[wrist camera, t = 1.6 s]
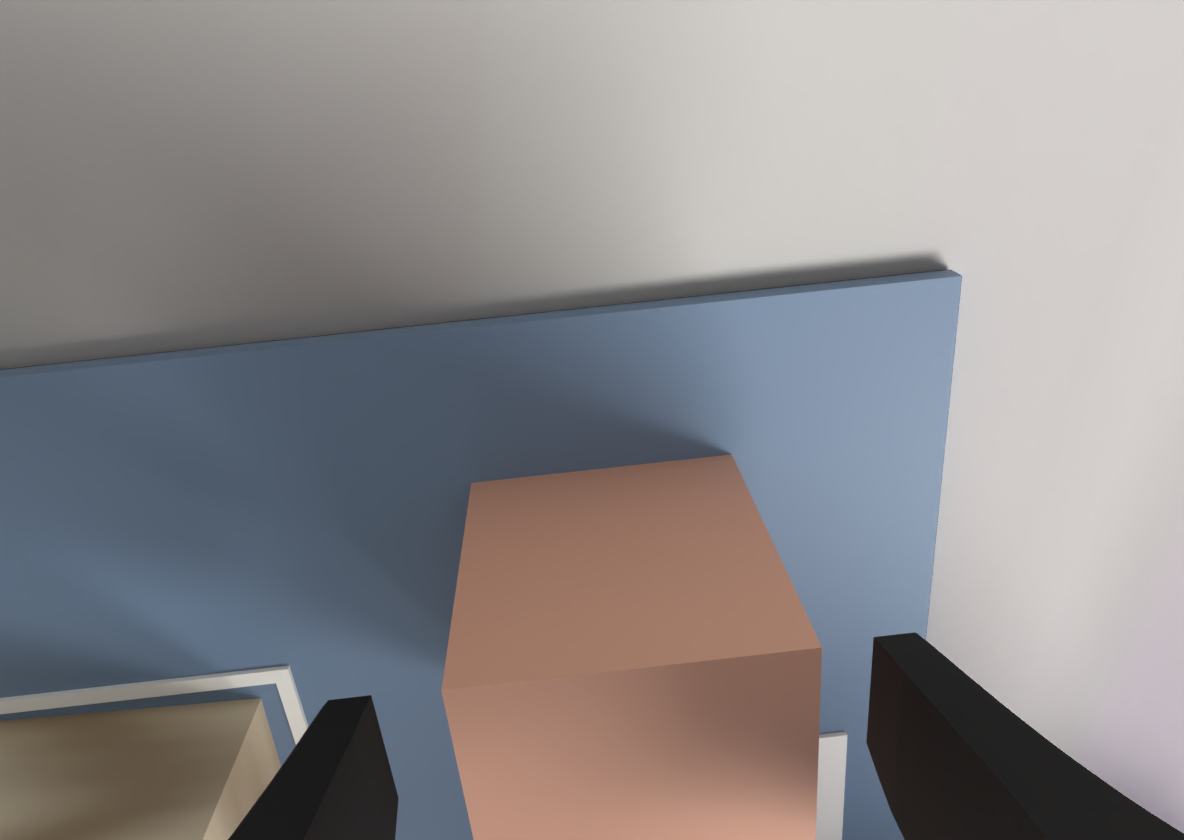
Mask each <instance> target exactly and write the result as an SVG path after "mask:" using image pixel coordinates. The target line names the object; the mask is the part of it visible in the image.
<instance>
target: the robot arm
mask: <svg viewBox="0 0 1184 840" xmlns="http://www.w3.org/2000/svg"><path fill="white" fill-rule="evenodd" d="M866 743H867V746H868V749H869V752H870V755H871V757H872V760H873V763H874V766H875V769H876V772H877V775H878V778H879V780H880V783H881V786H882V789H883V791H884V794H885V797H886V799H887V802H888V805H889V807H890V810H891V813H892V815H893V817H894V819H895V821H896V823H897V825H898V827H899V829H900V831H901V833H902V835H903V837H904V839H905V840H1184V834H1183V833H1181V832H1180V831H1178V830H1177V829H1175V828H1173V827H1172V826H1170V825H1169V824H1167V823H1166V822H1164V821H1162V820H1161V819H1159V818H1158V817H1156V816H1154V815H1153V814H1151V813H1150V812H1148V811H1147V810H1145V809H1144V808H1142V807H1141V806H1139V805H1138V804H1136V803H1135V802H1133V801H1132V800H1130V799H1129V798H1127V797H1126V796H1124V795H1123V794H1121V793H1120V792H1118V791H1117V790H1115V789H1114V788H1113V787H1111V786H1110V785H1108V784H1107V783H1106V782H1104V781H1103V780H1101V779H1100V778H1099V777H1097V776H1096V775H1094V774H1093V773H1092V772H1090V771H1089V770H1087V769H1086V768H1085V767H1083V766H1082V765H1080V764H1079V763H1078V762H1076V761H1075V760H1073V759H1072V758H1071V757H1069V756H1068V755H1067V754H1065V753H1064V752H1063V751H1061V750H1060V749H1059V748H1057V747H1056V746H1055V745H1053V744H1052V743H1051V742H1049V741H1048V740H1047V739H1046V738H1044V737H1043V736H1042V735H1040V734H1039V733H1038V732H1037V731H1035V730H1034V729H1033V728H1032V727H1030V726H1029V725H1028V724H1026V723H1025V722H1024V721H1023V720H1021V719H1020V718H1019V717H1017V716H1016V715H1015V714H1014V713H1012V712H1011V711H1010V710H1009V709H1008V708H1006V707H1005V706H1004V705H1003V704H1001V703H1000V702H999V701H998V700H996V699H995V698H994V697H993V696H992V695H990V694H989V693H988V692H987V691H986V690H984V689H983V688H982V687H981V686H980V685H978V684H977V683H976V682H975V681H974V680H972V679H971V678H970V677H969V676H968V675H966V674H965V673H964V672H963V671H962V670H960V669H959V668H958V667H957V666H956V665H954V664H953V663H952V662H951V661H950V660H948V659H947V658H946V657H945V656H944V655H943V654H941V653H940V652H939V651H938V650H937V649H935V648H934V647H933V646H932V645H931V644H929V643H928V642H927V641H926V640H925V639H923V638H922V637H921V636H920V635H919V634H917V633H916V632H913V633H904V634H896V635H887V636H878V637H874V639H873V653H872V668H871V682H870V697H869V711H868V726H867V740H866ZM398 799H399V798H398V794H397V790H396V786H395V783H394V779H393V775H392V771H391V768H390V764H389V760H388V756H387V753H386V749H385V745H384V741H383V738H382V734H381V730H380V726H379V723H378V719H377V715H376V711H375V708H374V704H373V700H372V696H371V695H368V696H360V697H351V698H342V699H334V700H328V701H327V702H326V703H325V704H324V706H323V707H322V708H321V710H320V711H319V712H318V714H317V715H316V717H315V718H314V720H313V721H312V723H311V724H310V726H309V727H308V728H307V730H306V731H305V733H304V734H303V736H302V737H301V739H300V740H299V742H298V743H297V745H296V746H295V748H294V749H293V750H292V752H291V753H290V755H289V756H288V758H287V759H286V761H285V762H284V763H283V765H282V766H281V768H280V769H279V771H278V772H277V773H276V775H275V776H274V778H273V779H272V781H271V782H270V783H269V785H268V786H267V788H266V789H265V790H264V792H263V793H262V794H261V796H260V797H259V798H258V800H257V801H256V802H255V804H254V805H253V807H252V808H251V809H250V811H249V812H248V813H247V815H246V816H245V817H244V819H243V820H242V822H241V823H240V824H239V826H238V827H237V828H236V830H235V831H234V832H233V834H232V835H231V836H230V838H229V839H228V840H395V835H396V823H397V811H398Z"/></svg>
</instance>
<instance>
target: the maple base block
mask: <svg viewBox="0 0 1184 840" xmlns="http://www.w3.org/2000/svg"><path fill="white" fill-rule="evenodd" d="M280 768H281V764H280V761H279V758H278V754H277V751H276V747H275V744H274V740H273V737H272V733H271V730H270V727H269V723H268V720H267V716H266V713H265V709H264V706H263V703H262V699H261V698H258V699H246V700H235V701H223V702H211V703H200V704H188V705H176V706H165V707H153V708H142V709H130V710H118V711H107V712H95V713H83V714H72V715H60V716H49V717H37V718H25V719H14V720H2V721H0V840H228V839H229V838H230V836H231V835H232V834H233V832H234V831H235V830H236V828H237V827H238V826H239V824H240V823H241V822H242V820H243V819H244V817H245V816H246V815H247V813H248V812H249V811H250V809H251V808H252V807H253V805H254V804H255V802H256V801H257V800H258V798H259V797H260V796H261V794H262V793H263V792H264V790H265V789H266V788H267V786H268V785H269V783H270V782H271V781H272V779H273V778H274V776H275V775H276V773H277V772H278V771H279V769H280Z"/></svg>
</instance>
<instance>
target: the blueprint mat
mask: <svg viewBox="0 0 1184 840" xmlns="http://www.w3.org/2000/svg"><path fill="white" fill-rule="evenodd" d="M961 282H962V276H961V275H959V274H958V273H956V272H954V271H952V270H942V271H933V272H923V273H914V274H904V275H895V276H885V277H876V278H866V279H857V280H847V281H838V282H828V283H819V284H809V285H800V286H790V287H781V288H771V289H762V290H752V291H743V292H734V293H724V294H715V295H705V296H696V297H686V298H677V299H667V300H658V301H648V302H639V303H629V304H620V305H610V306H601V307H591V308H582V309H572V310H563V311H553V312H544V313H534V314H525V315H515V316H506V317H497V318H487V319H478V320H468V321H459V322H449V323H440V324H430V325H421V326H411V327H402V328H392V329H383V330H373V331H364V332H354V333H345V334H335V335H326V336H316V337H307V338H297V339H288V340H278V341H269V342H260V343H250V344H241V345H231V346H222V347H212V348H203V349H193V350H184V351H174V352H165V353H155V354H146V355H136V356H127V357H117V358H108V359H98V360H89V361H79V362H70V363H60V364H51V365H41V366H32V367H23V368H13V369H4V370H0V721H2V720H14V719H25V718H37V717H49V716H60V715H72V714H83V713H95V712H107V711H118V710H130V709H142V708H153V707H165V706H176V705H188V704H200V703H211V702H223V701H235V700H246V699H258V698H261V699H262V703H263V706H264V709H265V713H266V716H267V720H268V723H269V727H270V730H271V733H272V737H273V740H274V744H275V747H276V751H277V754H278V758H279V761H280V764H281V766H282V765H283V763H284V762H285V761H286V759H287V758H288V756H289V755H290V753H291V752H292V750H293V749H294V748H295V746H296V745H297V743H298V742H299V740H300V739H301V737H302V736H303V734H304V733H305V731H306V730H307V728H308V727H309V726H310V724H311V723H312V721H313V720H314V718H315V717H316V715H317V714H318V712H319V711H320V710H321V708H322V707H323V706H324V704H325V703H326V702H327V701H328V700H334V699H342V698H351V697H360V696H368V695H371V696H372V700H373V704H374V708H375V711H376V715H377V719H378V723H379V726H380V730H381V734H382V738H383V741H384V745H385V749H386V753H387V756H388V760H389V764H390V768H391V771H392V775H393V779H394V783H395V786H396V790H397V794H398V798H399V799H398V811H397V823H396V835H395V840H474V839H473V834H472V830H471V825H470V821H469V816H468V811H467V807H466V802H465V798H464V793H463V788H462V784H461V779H460V775H459V770H458V765H457V761H456V756H455V752H454V747H453V742H452V738H451V733H450V728H449V724H448V719H447V715H446V710H445V705H444V701H443V696H442V692H441V689H442V682H443V675H444V668H445V662H446V655H447V648H448V641H449V634H450V627H451V620H452V613H453V606H454V599H455V592H456V585H457V578H458V571H459V564H460V557H461V550H462V544H463V537H464V530H465V523H466V516H467V509H468V502H469V495H470V488H471V483H474V482H483V481H492V480H501V479H511V478H520V477H529V476H538V475H547V474H557V473H566V472H575V471H584V470H593V469H602V468H612V467H621V466H630V465H639V464H648V463H657V462H667V461H676V460H685V459H694V458H703V457H713V456H722V455H731V454H732V456H733V458H734V460H735V462H736V465H737V467H738V469H739V471H740V473H741V475H742V477H743V480H744V482H745V484H746V486H747V488H748V490H749V492H750V495H751V497H752V499H753V501H754V503H755V505H756V507H757V509H758V512H759V514H760V516H761V518H762V520H763V522H764V524H765V527H766V529H767V531H768V533H769V535H770V537H771V539H772V542H773V544H774V546H775V548H776V550H777V552H778V554H779V557H780V559H781V561H782V563H783V565H784V567H785V569H786V571H787V574H788V576H789V578H790V580H791V582H792V584H793V586H794V589H795V591H796V593H797V595H798V597H799V599H800V601H801V604H802V606H803V608H804V610H805V612H806V614H807V616H808V619H809V621H810V623H811V625H812V627H813V629H814V631H815V633H816V636H817V638H818V640H819V642H820V644H821V646H822V665H821V695H820V724H819V754H818V784H817V813H816V840H905V839H904V837H903V835H902V833H901V831H900V829H899V827H898V825H897V823H896V821H895V819H894V817H893V815H892V813H891V810H890V807H889V805H888V802H887V799H886V797H885V794H884V791H883V789H882V786H881V783H880V780H879V778H878V775H877V772H876V769H875V766H874V763H873V760H872V757H871V755H870V752H869V749H868V746H867V743H866V740H867V726H868V711H869V697H870V682H871V668H872V653H873V639H874V637H878V636H887V635H896V634H904V633H913V632H916V633H917V634H919V635H920V636H921V637H922V638H923V639H925V640H926V633H927V623H928V613H929V603H930V593H931V583H932V573H933V563H934V553H935V543H936V533H937V523H938V513H939V503H940V492H941V482H942V472H943V462H944V452H945V442H946V432H947V422H948V412H949V402H950V392H951V382H952V372H953V362H954V352H955V342H956V332H957V322H958V312H959V302H960V292H961Z"/></svg>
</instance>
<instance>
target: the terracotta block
mask: <svg viewBox="0 0 1184 840" xmlns="http://www.w3.org/2000/svg"><path fill="white" fill-rule="evenodd" d="M821 665H822V646H821V644H820V642H819V640H818V638H817V636H816V633H815V631H814V629H813V627H812V625H811V623H810V621H809V619H808V616H807V614H806V612H805V610H804V608H803V606H802V604H801V601H800V599H799V597H798V595H797V593H796V591H795V589H794V586H793V584H792V582H791V580H790V578H789V576H788V574H787V571H786V569H785V567H784V565H783V563H782V561H781V559H780V557H779V554H778V552H777V550H776V548H775V546H774V544H773V542H772V539H771V537H770V535H769V533H768V531H767V529H766V527H765V524H764V522H763V520H762V518H761V516H760V514H759V512H758V509H757V507H756V505H755V503H754V501H753V499H752V497H751V495H750V492H749V490H748V488H747V486H746V484H745V482H744V480H743V477H742V475H741V473H740V471H739V469H738V467H737V465H736V462H735V460H734V458H733V456H732V454H731V455H722V456H713V457H703V458H694V459H685V460H676V461H667V462H657V463H648V464H639V465H630V466H621V467H612V468H602V469H593V470H584V471H575V472H566V473H557V474H547V475H538V476H529V477H520V478H511V479H501V480H492V481H483V482H474V483H471V488H470V495H469V502H468V509H467V516H466V523H465V530H464V537H463V544H462V550H461V557H460V564H459V571H458V578H457V585H456V592H455V599H454V606H453V613H452V620H451V627H450V634H449V641H448V648H447V655H446V662H445V668H444V675H443V682H442V689H441V692H442V696H443V701H444V705H445V710H446V715H447V719H448V724H449V728H450V733H451V738H452V742H453V747H454V752H455V756H456V761H457V765H458V770H459V775H460V779H461V784H462V788H463V793H464V798H465V802H466V807H467V811H468V816H469V821H470V825H471V830H472V834H473V839H474V840H816V813H817V784H818V754H819V724H820V695H821Z"/></svg>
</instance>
